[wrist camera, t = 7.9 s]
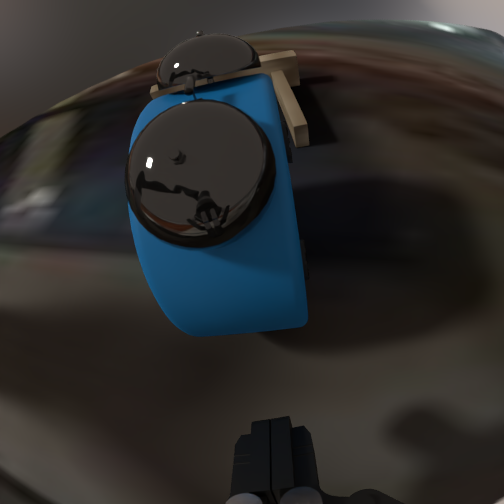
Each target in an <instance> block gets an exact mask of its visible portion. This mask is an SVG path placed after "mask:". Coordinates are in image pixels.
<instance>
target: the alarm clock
mask: <svg viewBox="0 0 504 504" xmlns="http://www.w3.org/2000/svg"><path fill="white" fill-rule="evenodd" d="M196 35H197V36H196V37H195V38H191V39H188V40H186V41H183V42H182V43H180V44H179V45H177V46H175V47H174V48H173V49H172V50H171V51H170V52H168V53H167V54H166V56H165V57H164V58H163V60H162V61H161V63H160V65H159V68H158V71H157V77H156V78H157V86H158V90H159V91H160V90H164V89H167V88H171V87H174V86H178V85H182V84H185V88H184V90H181V91H177V92H174V93H170V94H166V95H163V96H160V97H158V98H156V99H154V100H152V101H151V102H150V103H149V104H148V105H147V106H146V107H145V109H144V110H143V111H142V113H141V114H140V116H139V118H138V120H137V122H136V125H135V128H134V131H133V135H132V138H131V144H130V149H129V155H128V158H127V163H126V167H125V190H126V196H127V199H128V207H129V215H130V222H131V228H132V233H133V238H134V242H135V246H136V250H137V254H138V257H139V260H140V263H141V266H142V269H143V272H144V275H145V277H146V280H147V282H148V284H149V287H150V289H151V291H152V293H153V295H154V297H155V298H156V300H157V302H158V304H159V305H160V307H161V309H162V310H163V312H164V313H165V314H166V316H167V317H168V318H169V320H170V321H171V322H172V323H173V324H174V325H175V326H176V327H178V328H179V329H180V330H182V331H183V332H185V333H187V334H189V335H192V336H196V337H205V336H219V335H231V334H243V333H253V332H263V331H273V330H282V329H290V328H298V327H302V326H304V325H305V324H306V323H307V321H308V307H307V298H306V288H305V280H306V279H309V273H308V263H307V261H306V248H305V243H304V239H302V240H299V233H298V226H297V219H296V212H295V205H294V198H293V192H292V186H291V179H290V173H289V167H288V163H293V162H292V153H291V148H289V143H290V141H289V138H287V136H288V130H287V125H286V121H283V122H280V117H279V111H278V106H277V101H276V96H275V92H274V87H273V83H272V80H271V78H270V77H269V76H268V75H267V74H264V73H259V74H253V75H247V76H242V77H237V78H232V79H227V80H222V81H218V82H214V79H213V77H214V76H218V75H223V74H228V73H233V72H238V71H243V70H248V69H254V68H259V67H262V66H261V62H260V58H259V56H258V53H257V52H256V51H255V49H254V48H253V47H252V46H251V45H250V44H249V43H248V42H246V41H244V40H242V39H240V38H238V37H235V36H231V35H227V34H208V35H204V34H203V31H197V32H196ZM205 78H207V82H208V84H205V85H200V86H196V87H195V82H196V81H197V80H201V79H205Z"/></svg>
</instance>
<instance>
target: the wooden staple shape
mask: <svg viewBox="0 0 504 504" xmlns="http://www.w3.org/2000/svg"><path fill="white" fill-rule="evenodd" d="M259 58H260V62H261V66H262V67H259V68H254V69H248V70H243V71H238V72H233V73H228V74H223V75H218V76H214V77H213V79H214V82H218V81H222V80H227V79H232V78H237V77H242V76H247V75H253V74H259V73H264V74H267V75H268V76H269V77H270V78H271V80H272V83H273V87H274V91H275V93H276V96H277V98H278V101H279V103H280V106H281V109H282V111H283V114H284V116H285V119H286V122H287V124H288V127H289V129H290V132H291V135H292V138H293V140H294V143H295V146H296V148H298V147H303V146H308V145H309V136H308V125H307V122H306V120H305V117H304V115H303V113H302V111H301V109H300V107H299V104H298V102H297V100H296V98H295V96H294V94H293V92H292V90H291V88H290V87H292V86H298V85H300V80H299V72H298V64H297V57H296V54H295V53H294V51H293V50H291V51H285V52H279V53H273V54H268V55H263V56H259ZM205 84H208V82H207V78H205V79H201V80H197V81H196V82H195V87H196V86H200V85H205ZM184 88H185V84H182V85H178V86H174V87H171V88H167V89H164V90H160V91H159V90H158V86H157V85H155V86H152V87H151V91H150V94H151V96H152V98H153V100H154V99H156V98H158V97H160V96H163V95H166V94H170V93H174V92H177V91H181V90H184Z"/></svg>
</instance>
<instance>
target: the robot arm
mask: <svg viewBox="0 0 504 504" xmlns="http://www.w3.org/2000/svg"><path fill="white" fill-rule="evenodd" d="M234 456H235V457H234V465H233V473H232V483H231V493H230V497H229V499H228V500H227V502H226V503H225V504H404V503H402V502H400V501H398V500H396V499H394V498H392V497H390V496H388V495H386V494H384V493H382V492H380V491H377V490H374V489H364V490H360V491H358V492H355V493H354V494H352V495H351V496H350V497H336V496H331V495H328V494H326V493H324V492H323V491H322V490H321V489H320V486H319V479H318V473H317V466H316V459H315V453H314V448H313V443H312V438H311V434H310V432H309V431H308V430H307V429H306V428H305V426H299V427H294V428H292V424H291V420H290V417H289V416H286V417H280V418H274V419H271V420H270V419H268V420H261V421H254V422H252V425H251V434H248V435H241V436H240V438H239V440H238V441H237V443H236V445H235V453H234Z"/></svg>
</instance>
